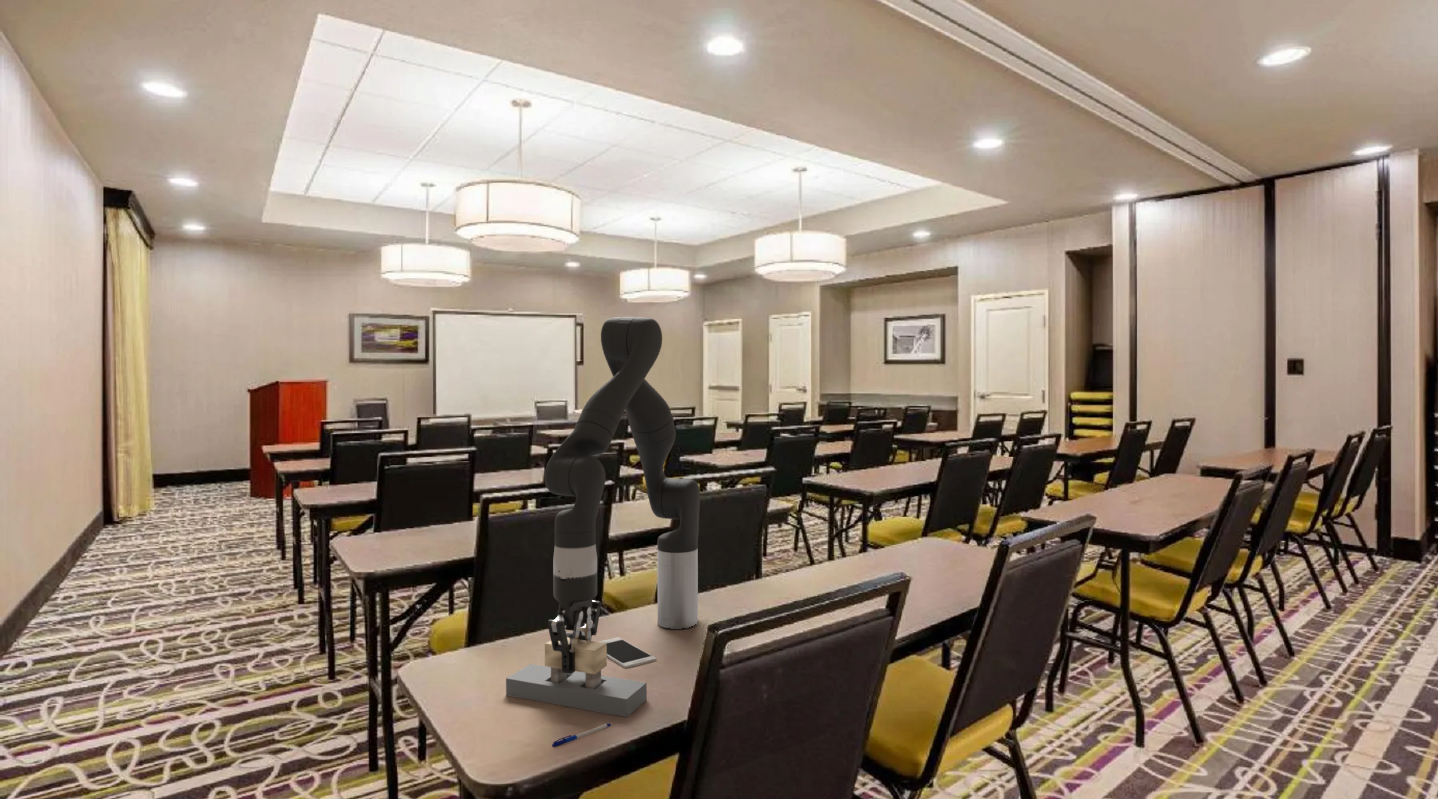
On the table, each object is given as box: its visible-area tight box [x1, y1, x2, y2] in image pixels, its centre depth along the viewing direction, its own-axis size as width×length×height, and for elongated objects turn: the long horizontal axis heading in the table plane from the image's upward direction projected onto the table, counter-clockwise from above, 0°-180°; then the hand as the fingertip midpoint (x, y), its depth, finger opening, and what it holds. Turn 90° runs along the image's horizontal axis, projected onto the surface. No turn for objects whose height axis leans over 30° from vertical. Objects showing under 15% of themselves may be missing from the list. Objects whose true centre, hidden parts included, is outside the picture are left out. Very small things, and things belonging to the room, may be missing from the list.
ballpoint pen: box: [551, 722, 612, 748], centre depth 114 cm, size 10×1×1 cm, turn 134°
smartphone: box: [598, 636, 657, 669], centre depth 150 cm, size 7×16×1 cm, turn 37°
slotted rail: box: [505, 663, 648, 718], centre depth 128 cm, size 24×7×3 cm, turn 69°
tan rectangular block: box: [544, 637, 608, 689], centre depth 128 cm, size 10×4×7 cm, turn 69°
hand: (575, 667), depth 128 cm, fingers closed on tan rectangular block, 4 cm apart
